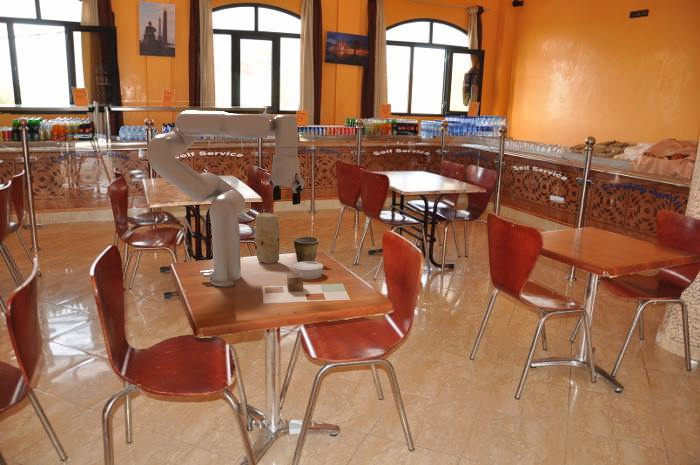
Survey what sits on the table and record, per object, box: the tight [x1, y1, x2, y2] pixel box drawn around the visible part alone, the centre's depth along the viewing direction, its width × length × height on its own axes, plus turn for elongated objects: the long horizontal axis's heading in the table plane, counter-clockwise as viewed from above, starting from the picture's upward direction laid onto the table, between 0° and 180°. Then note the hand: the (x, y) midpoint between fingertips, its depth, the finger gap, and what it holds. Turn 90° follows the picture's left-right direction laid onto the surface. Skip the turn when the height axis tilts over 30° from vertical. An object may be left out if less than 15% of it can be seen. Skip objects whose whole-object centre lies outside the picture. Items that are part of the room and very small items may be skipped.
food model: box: [254, 212, 281, 265], centre depth 224 cm, size 10×7×20 cm
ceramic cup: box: [293, 236, 320, 263], centre depth 226 cm, size 13×10×10 cm
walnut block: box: [286, 272, 304, 292], centre depth 192 cm, size 5×5×5 cm
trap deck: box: [261, 283, 351, 304], centre depth 189 cm, size 28×16×2 cm, turn 100°
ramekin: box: [292, 261, 324, 280], centre depth 208 cm, size 11×11×5 cm
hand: (286, 202), depth 194 cm, fingers open, 9 cm apart
